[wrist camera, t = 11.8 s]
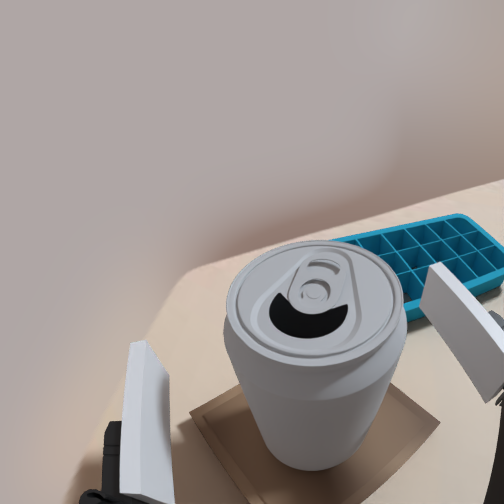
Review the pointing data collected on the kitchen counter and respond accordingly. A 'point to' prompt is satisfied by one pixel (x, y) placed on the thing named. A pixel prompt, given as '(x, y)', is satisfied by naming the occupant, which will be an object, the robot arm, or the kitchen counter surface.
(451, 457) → the kitchen counter surface
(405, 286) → the ice cube tray
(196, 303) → the kitchen counter surface
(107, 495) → the robot arm
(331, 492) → the walnut block
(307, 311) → the beverage can
